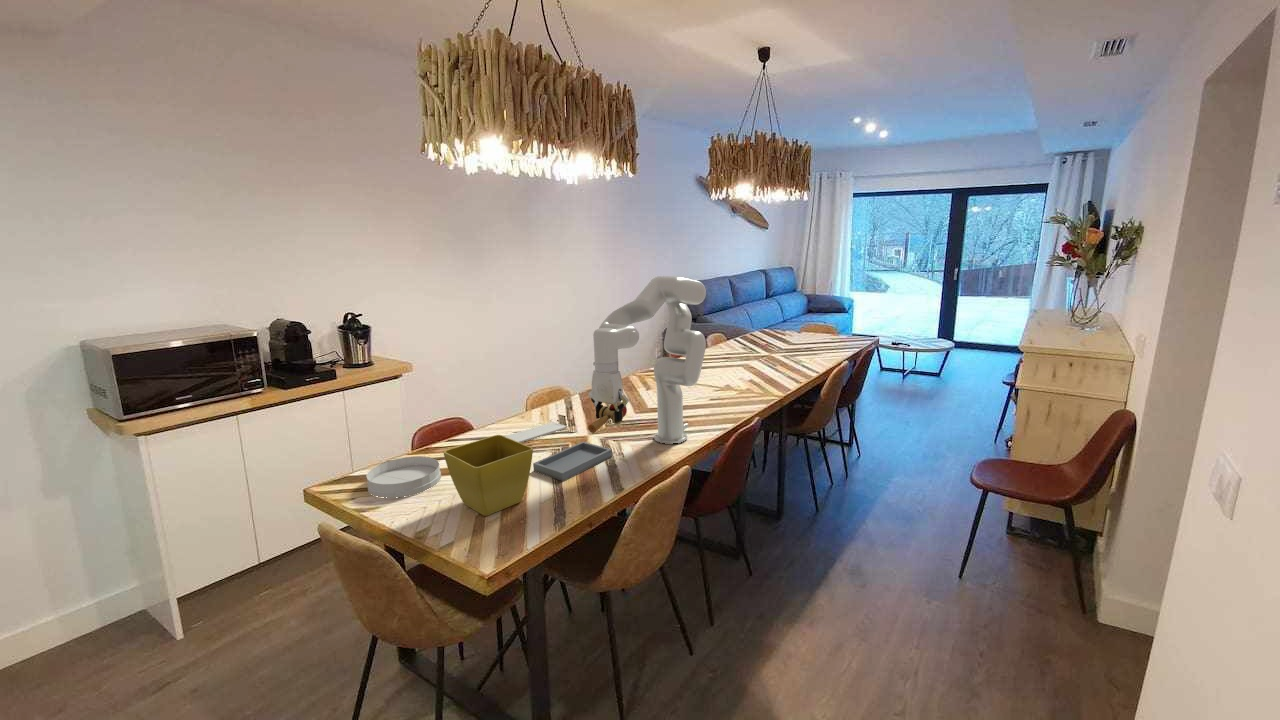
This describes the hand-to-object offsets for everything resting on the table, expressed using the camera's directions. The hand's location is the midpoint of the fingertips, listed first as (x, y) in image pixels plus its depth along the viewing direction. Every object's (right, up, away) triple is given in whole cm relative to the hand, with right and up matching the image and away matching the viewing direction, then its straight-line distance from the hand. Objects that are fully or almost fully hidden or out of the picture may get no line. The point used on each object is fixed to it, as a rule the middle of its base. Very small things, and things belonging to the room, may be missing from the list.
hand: (609, 419), depth 182 cm
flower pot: (-34, -23, -16) cm, 44 cm away
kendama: (0, -2, 0) cm, 2 cm away
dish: (-66, -21, -1) cm, 69 cm away
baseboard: (-35, -11, +39) cm, 54 cm away
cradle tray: (-13, -16, +10) cm, 23 cm away
